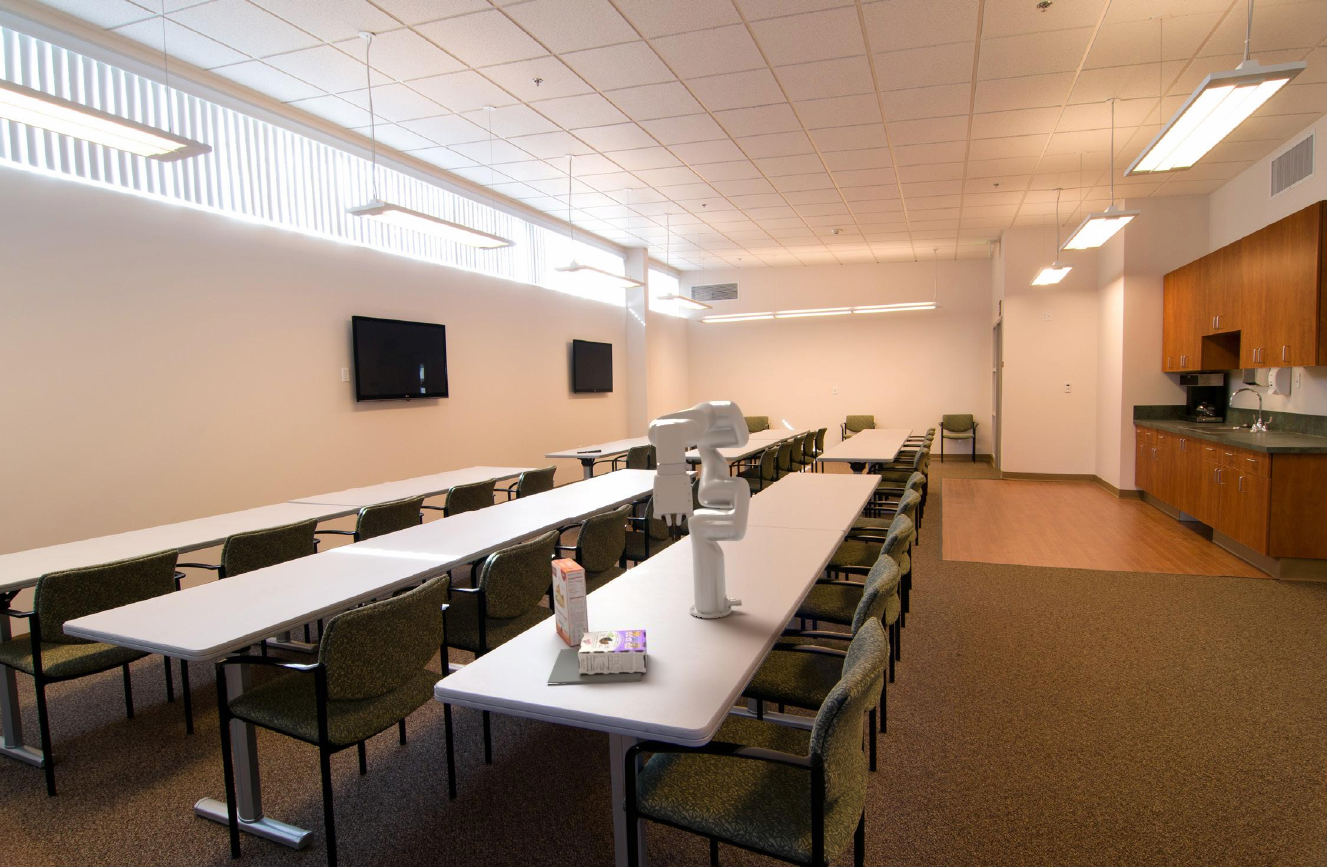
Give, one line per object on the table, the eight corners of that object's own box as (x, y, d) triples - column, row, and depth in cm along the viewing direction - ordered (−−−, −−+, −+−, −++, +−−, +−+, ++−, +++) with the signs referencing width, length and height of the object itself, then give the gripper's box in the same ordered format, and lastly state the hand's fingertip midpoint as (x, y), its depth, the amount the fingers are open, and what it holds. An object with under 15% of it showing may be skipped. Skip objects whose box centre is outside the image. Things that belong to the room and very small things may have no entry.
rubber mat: (643, 648, 177) (643, 645, 177) (640, 681, 158) (640, 678, 157) (560, 651, 178) (560, 649, 178) (547, 685, 158) (547, 682, 158)
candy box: (647, 651, 174) (584, 653, 174) (646, 628, 174) (583, 631, 174) (646, 673, 160) (577, 676, 160) (645, 649, 160) (576, 652, 160)
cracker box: (554, 631, 193) (550, 560, 191) (574, 627, 195) (571, 557, 194) (568, 647, 180) (564, 571, 179) (589, 643, 182) (585, 568, 181)
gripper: (699, 466, 176) (702, 535, 177) (643, 469, 176) (646, 538, 177) (701, 470, 168) (704, 542, 170) (641, 472, 168) (645, 544, 170)
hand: (674, 539), depth 173 cm, fingers closed
